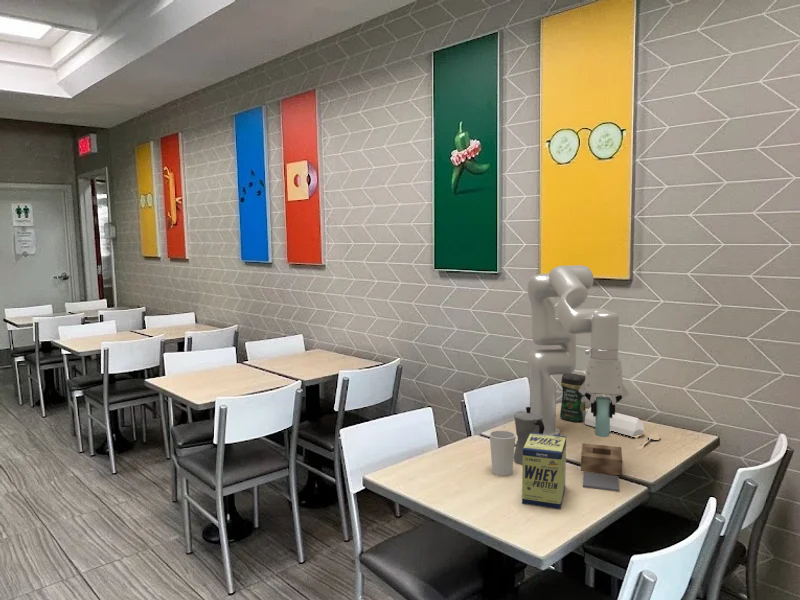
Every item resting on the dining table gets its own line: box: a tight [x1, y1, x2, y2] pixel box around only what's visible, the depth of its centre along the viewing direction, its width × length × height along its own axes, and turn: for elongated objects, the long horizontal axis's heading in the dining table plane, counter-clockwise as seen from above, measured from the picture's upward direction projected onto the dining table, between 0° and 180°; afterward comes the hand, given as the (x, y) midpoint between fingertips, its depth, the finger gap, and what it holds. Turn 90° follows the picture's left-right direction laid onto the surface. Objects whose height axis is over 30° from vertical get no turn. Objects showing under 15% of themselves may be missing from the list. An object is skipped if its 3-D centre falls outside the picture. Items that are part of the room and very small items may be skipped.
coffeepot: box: [513, 406, 545, 466], centre depth 188 cm, size 15×9×18 cm, turn 19°
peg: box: [594, 395, 611, 438], centre depth 170 cm, size 4×4×11 cm
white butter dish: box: [584, 406, 645, 436], centre depth 220 cm, size 7×7×24 cm
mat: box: [582, 472, 620, 492], centre depth 172 cm, size 10×10×1 cm
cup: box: [489, 429, 517, 477], centre depth 180 cm, size 8×8×12 cm
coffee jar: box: [559, 372, 587, 423], centre depth 233 cm, size 10×8×19 cm
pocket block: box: [580, 443, 623, 476], centre depth 184 cm, size 12×12×5 cm
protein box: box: [521, 432, 567, 510], centre depth 163 cm, size 10×16×16 cm
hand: (602, 415), depth 170 cm, fingers closed on peg, 4 cm apart
